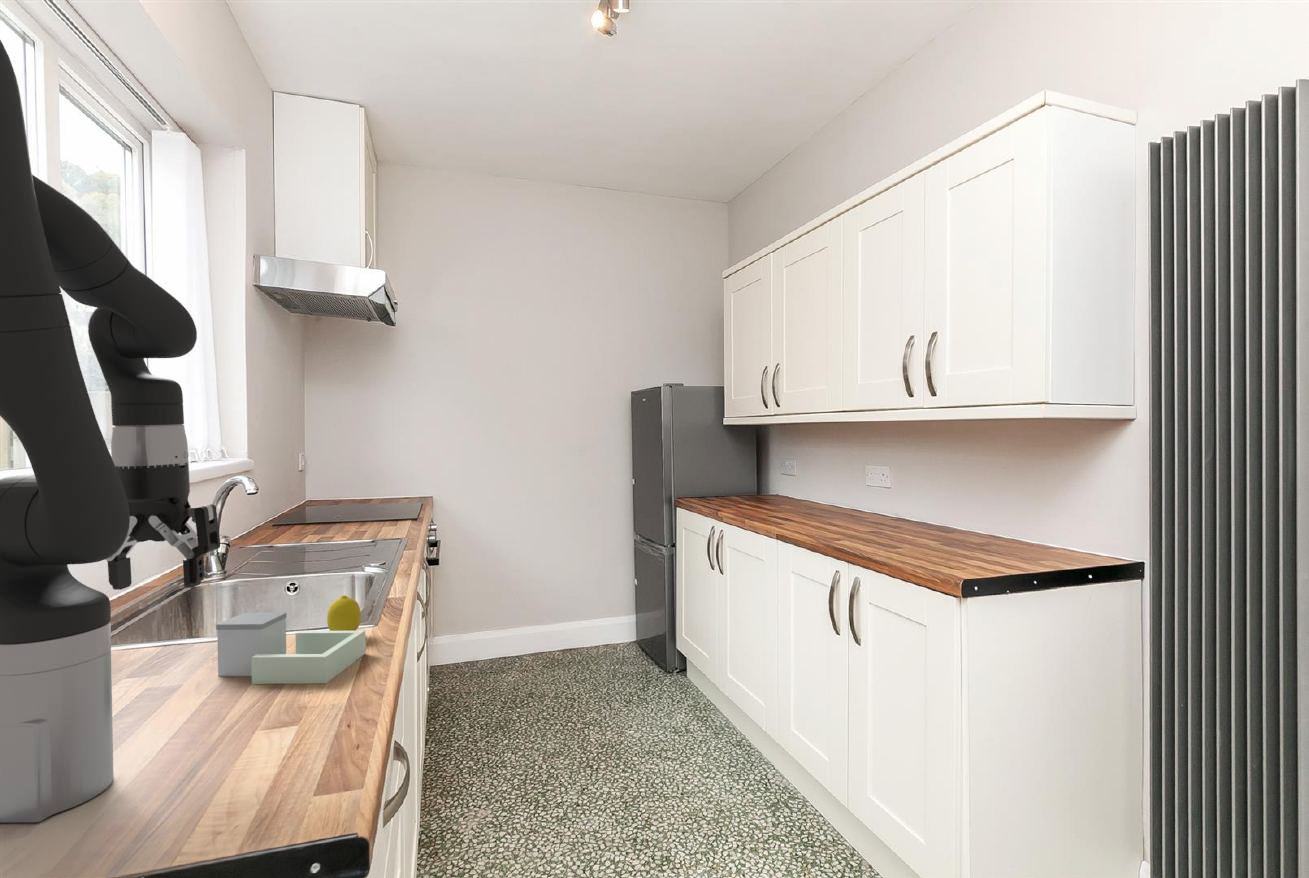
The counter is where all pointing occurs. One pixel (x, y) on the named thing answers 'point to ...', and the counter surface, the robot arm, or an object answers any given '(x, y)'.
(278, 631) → the lidded grey box
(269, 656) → the bay
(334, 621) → the lemon
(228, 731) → the counter surface
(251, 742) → the counter surface
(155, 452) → the robot arm
